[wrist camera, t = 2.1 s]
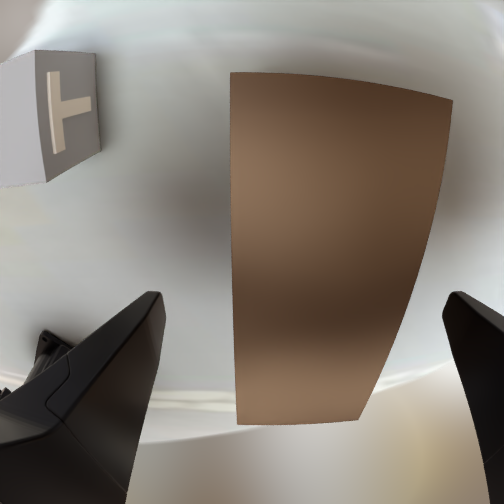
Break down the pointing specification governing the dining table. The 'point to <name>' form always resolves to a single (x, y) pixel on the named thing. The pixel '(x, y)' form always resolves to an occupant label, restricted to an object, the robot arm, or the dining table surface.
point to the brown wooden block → (325, 236)
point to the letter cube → (46, 115)
